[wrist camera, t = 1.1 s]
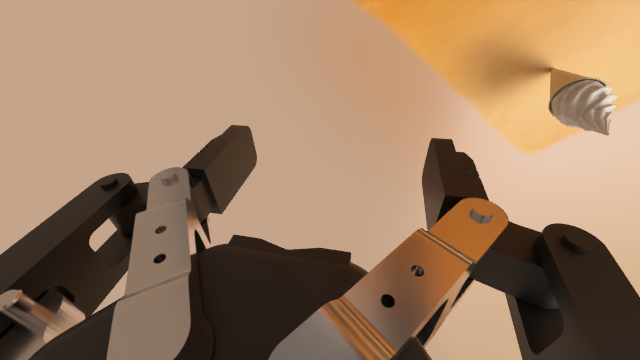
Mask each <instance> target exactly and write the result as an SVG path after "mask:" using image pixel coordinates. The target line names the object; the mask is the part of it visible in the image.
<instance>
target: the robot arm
mask: <svg viewBox="0 0 640 360" xmlns="http://www.w3.org/2000/svg"><path fill="white" fill-rule="evenodd" d="M256 161H257V155H256V150H255V146H254V142H253V138H252V133H251V130H250V128H249V127H248V126H239V125H231V126H230V127H229V128H228V129H227V130H226V131H225V132H224V133H223V134H222V135H220V136H218V137H216V138H214V139H213V140H211V141H210V142H209V143H208V144H207V145H206V146H205V147H204V148H203V149H202V150H200V152H199V153H197V154H196V155H195V156H194V157H193V158H192V159H191V160H190V161H189V162H188V163H187V164H186V165H185V166H183V167H182V168H180V167H175V168H169V169H166V170H163V171H161V172H159V173H157V174H156V175H154V176H153V177H152V178H151V180H150V181H149V182H145V183H136V184H134V182H133V181H132V179H131V177H130V176H129V175H128V174H125V173H117V174H112V175H108V176H106V177H103V178H101V179H99V180H98V181H96V182H95V183H93V184H92V185H91V186H89V187H88V188H87V189H85V190H84V191H83V192H81V193H80V194H79V195H78V196H77V197H75V198H74V199H72V200H71V201H70V202H68V203H67V204H66V205H65V206H63V207H62V208H61V209H59V210H58V211H57V212H55V213H54V214H53V215H52V216H50V217H49V218H48V219H46V220H45V221H44V222H42V223H41V224H40V225H39V226H37V227H36V228H35V229H33V230H32V231H31V232H29V233H28V234H27V235H26V236H24V237H23V238H22V239H20V240H19V241H18V242H16V243H15V244H14V245H13V246H11V247H10V248H9V249H8V250H6V251H5V252H3V253H2V254H1V255H0V360H432V359H431V358H430V356H429V355H428V354H427V352H426V350H425V349H424V348H425V347H426V345H427V344H428V343H429V341H430V340H431V339H432V338H433V336H434V335H435V334H436V332H437V331H438V329H439V328H440V326H441V325H442V323H443V322H444V320H445V319H446V317H447V316H448V315H449V313H450V312H451V311H452V310H453V308H454V307H455V306H456V304H457V303H458V302H459V301H460V299H461V298H462V297H463V296H464V294H465V293H466V291H467V290H468V289H469V288H470V287H471V285H472V284H473V283H474V282H475V280H476V281H478V282H481V283H483V284H486V285H488V286H490V287H493V288H495V289H497V290H500V291H502V292H504V293H505V295H506V298H507V302H508V306H509V310H510V313H511V317H512V321H513V325H514V329H515V333H516V336H517V340H518V344H519V348H520V351H521V355H522V359H523V360H640V297H639V295H638V294H637V293H636V291H635V289H634V288H633V286H632V285H631V284H630V282H629V281H628V279H627V277H626V276H625V274H624V273H623V271H622V270H621V268H620V267H619V265H618V264H617V262H616V261H615V259H614V258H613V256H612V255H611V253H610V252H609V250H608V249H607V247H606V246H605V245H604V244H603V243H602V242H601V241H600V240H599V239H597V238H596V237H595V236H593V235H592V234H590V233H588V232H587V231H584V230H582V229H580V228H577V227H575V226H571V225H566V224H550V225H548V226H546V227H545V228H544V230H543V231H542V232H538V231H535V230H532V229H529V228H525V227H523V226H519V225H517V224H514V223H512V222H510V221H508V216H507V214H506V213H505V212H504V210H503V209H501V208H500V207H499V206H498V205H496V204H494V203H492V202H490V201H489V199H488V197H487V194H486V192H485V190H484V187H483V184H482V182H481V179H480V178H479V174H478V172H477V171H476V166H475V164H474V162H473V160H472V159H471V158H470V157H469V156H468V155H467V154H465V153H464V152H456V151H455V147H454V144H453V141H452V139H438V138H432V139H431V141H430V144H429V148H428V152H427V156H426V160H425V165H424V169H423V175H422V187H423V195H424V203H425V212H426V221H427V228H428V231H425V230H424V229H422V228H421V229H418V230H417V231H415V232H414V233H413V234H412V235H411V236H410V237H409V238H407V239H406V240H405V241H404V242H403V243H402V244H400V245H399V246H398V247H397V248H396V249H395V250H394V251H393V252H391V253H390V254H389V255H388V256H387V257H386V258H385V259H383V260H382V261H381V262H380V263H379V264H378V265H377V266H376V267H374V268H373V269H372V270H371V271H370V272H367V271H366V270H364V269H363V268H361V267H359V266H358V265H355V264H353V263H351V253H350V252H344V251H337V250H331V249H324V248H311V249H294V250H287V249H284V248H281V247H279V246H277V245H274V244H272V243H269V242H267V241H265V240H263V239H259V238H253V237H246V236H239V235H233V237H232V239H231V240H230V242H229V243H228V244H222V245H217V246H214V243H213V238H212V232H211V226H210V221H209V218H208V215H209V213H218V214H222V213H223V211H224V210H225V209H226V207H227V206H228V204H229V203H230V202H231V200H232V199H233V197H234V196H235V194H236V193H237V192H238V190H239V189H240V187H241V186H242V185H243V183H244V182H245V180H246V179H247V177H248V176H249V175H250V173H251V172H252V170H253V169H254V167H255V165H256ZM108 218H109V219H110V220H111V222H112V223H113V224H114V225H115V227H116V228H117V229H118V230H117V231H116V232H115V233H114V234H113V235H112V236H111V237H110V238H109V239H108V240H107V241H106V242H105V243H104V244H103V245H102V246H101V247H100V248H99V249H98V250H97V251H96V252H94V251H93V250H92V248H91V247H90V245H89V239H90V236H91V235H92V233H93V232H94V231H95V230H96V229H97V228H98V227H100V226H101V225H102V224H103V223H104V222H105V221H106V220H107V219H108ZM127 271H128V275H127V282H126V289H125V294H124V296H123V297H122V298H120V299H118V300H117V301H115V302H114V303H112V304H110V305H108V306H107V307H105V308H103V309H102V310H100V311H98V312H96V313H95V314H93V315H92V313H93V312H94V311H95V310H96V309H97V307H98V306H99V305H100V303H101V302H102V301H103V300H104V299H105V298H106V296H107V295H108V294H109V292H110V291H111V290H112V289H113V288H114V286H115V285H116V284H117V283H118V282H119V280H120V279H121V278H122V277H123V275H124V274H125V273H126V272H127Z"/></svg>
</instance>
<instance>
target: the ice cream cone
mask: <svg viewBox="0 0 640 360" xmlns="http://www.w3.org/2000/svg"><path fill="white" fill-rule="evenodd" d="M611 91H612V89H611V88H610V87H609V86H607V84H606V83H605V82H604V81H602V80H600V79H597V78H588V77H584V76H580V75H577V74H573V73H570V72H566V71H562V70H558V69H552V70H551V82H550V102H549V111H550V113H551V114H552V115H553V116H555V117H556V118H557V119H558V120H559V121H560V122H561V123H563V124H564V125H566V126H568V127H577V128H583V129H584V130H586V131H595V132H598V133H602V134H605V135H609V133H608V130H609V124H610V121H611V120H610V119H608V118H609V117H610V116H611V115H612V114H613V112H612V110H613V109H614V108H615V107H616V104H615V105H611V104H610V103H611V102H613V101H614V100H615V99H616V98H617V96H616V95H613V94H608V93H610V92H611Z"/></svg>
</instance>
